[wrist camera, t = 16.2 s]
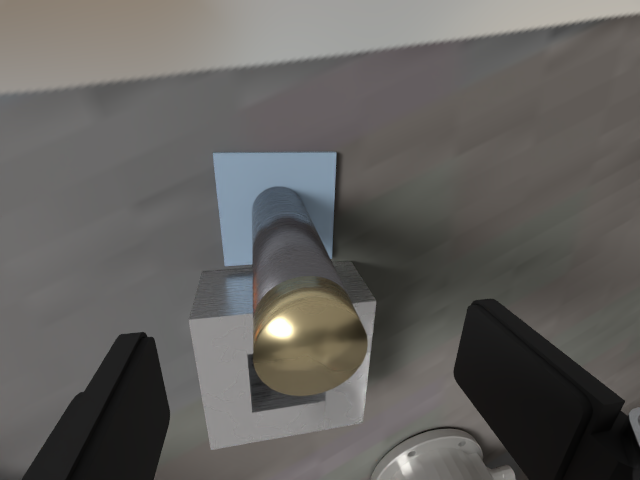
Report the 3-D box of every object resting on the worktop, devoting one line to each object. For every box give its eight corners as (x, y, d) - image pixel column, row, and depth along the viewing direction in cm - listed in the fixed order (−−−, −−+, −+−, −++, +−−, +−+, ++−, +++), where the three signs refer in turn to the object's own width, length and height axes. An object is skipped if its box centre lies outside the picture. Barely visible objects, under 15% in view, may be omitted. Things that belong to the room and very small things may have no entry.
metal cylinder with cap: (304, 185, 19) (372, 300, 8) (304, 234, 20) (362, 387, 10) (250, 186, 19) (249, 311, 8) (253, 237, 20) (256, 403, 9)
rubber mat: (334, 151, 19) (336, 152, 19) (330, 255, 22) (331, 258, 22) (213, 152, 18) (212, 153, 17) (225, 263, 21) (224, 266, 20)
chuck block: (350, 260, 22) (376, 301, 18) (343, 368, 26) (362, 422, 22) (201, 271, 20) (188, 319, 16) (218, 385, 24) (210, 449, 20)
